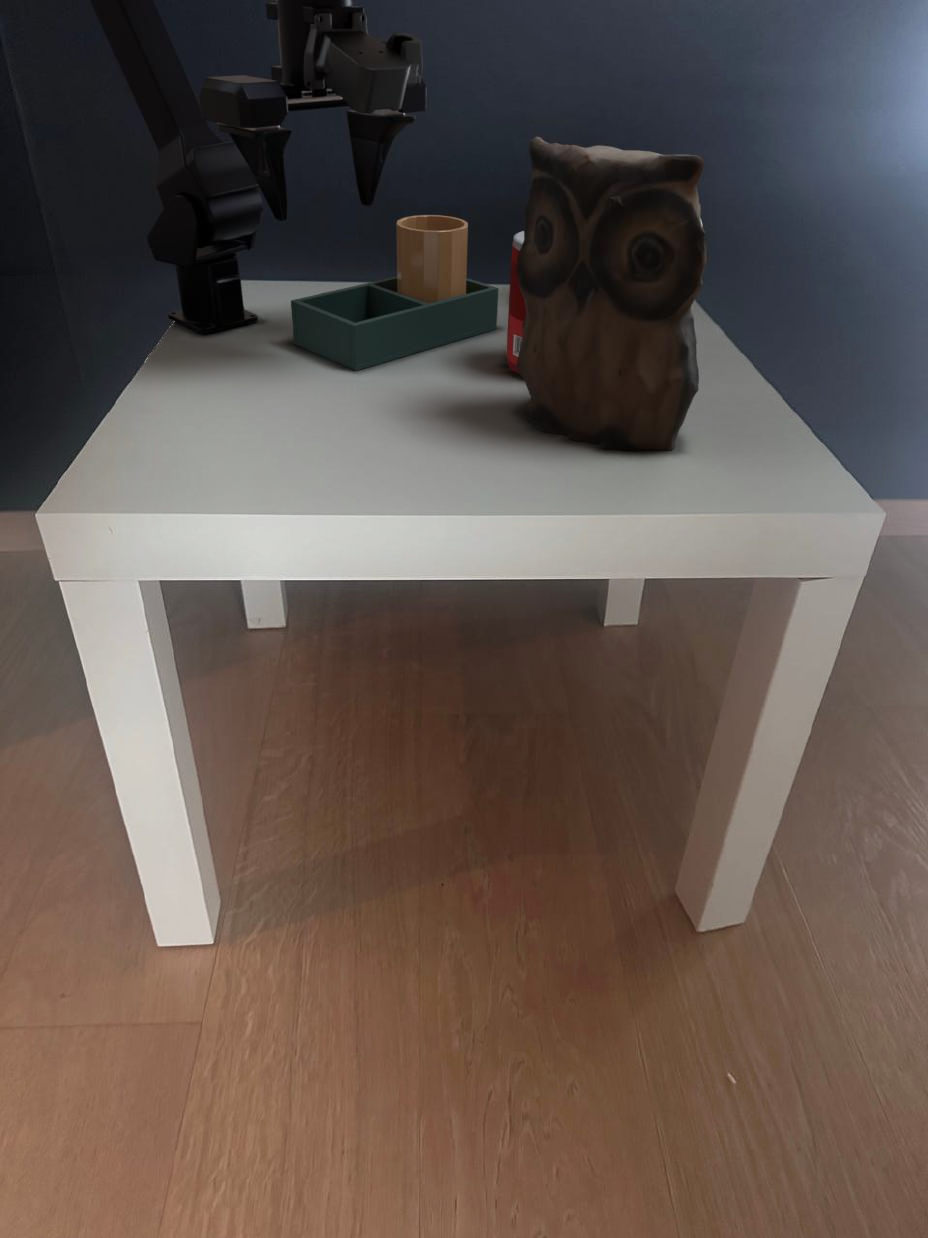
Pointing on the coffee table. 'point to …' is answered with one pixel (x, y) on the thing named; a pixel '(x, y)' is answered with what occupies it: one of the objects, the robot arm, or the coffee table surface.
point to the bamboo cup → (431, 257)
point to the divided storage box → (388, 321)
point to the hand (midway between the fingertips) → (325, 212)
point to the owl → (610, 293)
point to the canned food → (515, 307)
